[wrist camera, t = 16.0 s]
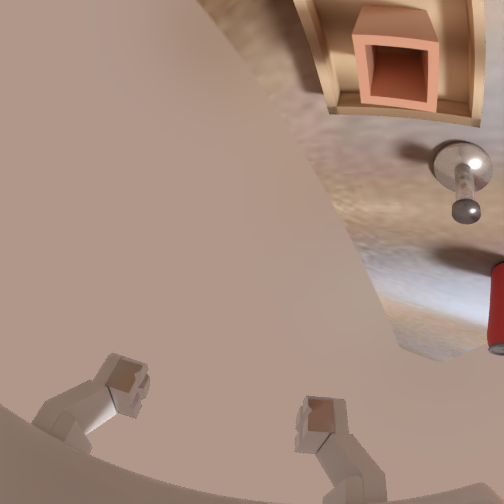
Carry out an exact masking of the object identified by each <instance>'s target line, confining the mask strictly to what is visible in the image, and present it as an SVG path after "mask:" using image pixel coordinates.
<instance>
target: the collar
mask: <svg viewBox="0 0 504 504" xmlns="http://www.w3.org/2000/svg"><path fill="white" fill-rule="evenodd" d="M352 39H353V45H354V51H355V58H356V65H357V72H358V80H359V88H360V97H361V103H365V104H376V105H385V106H394V107H402V108H409V109H416V110H422V111H429V112H434V113H436V109H437V96H438V78H439V41H438V38H437V35H436V33H435V30H434V27H433V25H432V22H431V20H430V17H429V15H428V13H427V10H420V9H411V8H402V7H389V6H370V5H362V8H361V11H360V14H359V16H358V19H357V22H356V24H355V27H354V30H353V32H352ZM377 45H381V46H393V47H403V48H412V49H420V50H421V56H414V55H406V54H397V53H386V52H377Z"/></svg>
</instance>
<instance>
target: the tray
mask: <svg viewBox="0 0 504 504" xmlns="http://www.w3.org/2000/svg"><path fill="white" fill-rule="evenodd" d="M293 1H294V4H295V7H296V9H297V12H298V15H299V17H300V20H301V23H302V26H303V29H304V32H305V35H306V37H307V40H308V43H309V47H310V50H311V53H312V56H313V59H314V62H315V66H316V69H317V72H318V76H319V79H320V82H321V86H322V89H323V93H324V97H325V100H326V104H327V108H328V112H329V114H343V115H373V116H390V117H403V118H414V119H423V120H432V121H440V122H447V123H454V124H461V125H467V126H473V127H478V128H480V122H481V114H482V105H483V94H484V80H485V18H484V4H483V0H293ZM362 5H370V6H389V7H402V8H411V9H420V10H427V13H428V15H429V17H430V20H431V22H432V25H433V27H434V30H435V33H436V35H437V38H438V41H439V78H438V96H437V109H436V113H434V112H429V111H422V110H416V109H409V108H402V107H394V106H385V105H376V104H365V103H361V97H360V88H359V80H358V72H357V65H356V58H355V51H354V45H353V39H352V32H353V30H354V27H355V24H356V22H357V19H358V16H359V14H360V11H361V8H362ZM377 52H386V53H397V54H406V55H414V56H421V50H420V49H412V48H403V47H393V46H381V45H377Z"/></svg>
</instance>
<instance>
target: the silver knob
mask: <svg viewBox="0 0 504 504" xmlns="http://www.w3.org/2000/svg"><path fill="white" fill-rule="evenodd" d="M434 173H435V176H436V178H437V180H438V181H439V182H440V183H441V184H442V185H443V186H444V187H446V188H447V189H449V190H452V191H455V192H456V202H455V203H454V204H453V205H452V217H453V218H454V220H455V221H457V222H459V223H461V224H472V223H475V222H477V221H478V220H479V218H480V216H481V212H480V206H479V204H478V203H477V202H476V198H475V191H478V190H480V189H482V188H483V187H485V186H486V185H487V184H488V183H489V181H490V179H491V177H492V164H491V160H490V158H489V156H488V155H487V153H486V152H485V151H484V150H483V149H482V148H480V147H479V146H477V145H475V144H472V143H469V142H454V143H450V144H448V145H446V146H444V147H443V148H441V149H440V150H439V151H438V153H437V154H436V156H435V159H434Z"/></svg>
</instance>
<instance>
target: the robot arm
mask: <svg viewBox="0 0 504 504" xmlns="http://www.w3.org/2000/svg"><path fill="white" fill-rule="evenodd" d="M147 371H148V366H147V364H145V363H142V362H139V361H136V360H133V359H130V358H127V357H124V356H121V355H118V354H115V353H111V354H110V355H108V357H107V359H106V360H105V362H104V363H103V365H102V367H101V368H100V370H99V371H98V373H97V375H96V376H95V378H94V380H93V381H92V380H88V381H86V382H84V383H82V384H80V385H78V386H76V387H74V388H72V389H70V390H68V391H66V392H64V393H62V394H59V395H57V396H55V397H53V398H51V399H49V400H47V401H45V403H44V404H43V406H42V407H41V409H40V410H39V412H38V414H37V415H36V417H35V418H34V420H33V421H32V423H31V424H30V423H29V422H27V421H25V420H24V419H22V418H21V417H19V416H17V415H16V414H14V413H13V412H11V411H10V410H8V409H7V408H5V407H4V406H3V405H1V404H0V504H282V503H270V502H261V501H253V500H246V499H239V498H233V497H227V496H221V495H216V494H211V493H206V492H201V491H197V490H193V489H188V488H185V487H181V486H177V485H173V484H170V483H166V482H163V481H159V480H156V479H152V478H150V477H146V476H143V475H140V474H137V473H135V472H132V471H129V470H126V469H123V468H121V467H118V466H116V465H113V464H111V463H108V462H106V461H103V460H101V459H99V458H96V457H94V456H92V455H89V454H90V451H91V449H92V445H91V444H90V442H89V440H88V439H87V437H86V434H88V433H89V432H91V431H92V430H94V429H95V428H97V427H98V426H99V425H101V424H103V423H104V422H106V421H107V420H108V419H110V418H111V417H113V416H114V415H116V414H117V413H120V414H123V415H126V416H129V417H133V418H137V416H138V413H139V411H140V409H141V407H142V405H141V401H140V400H142V399H144V398H145V397H146V395H147V393H148V390H149V386H150V378H149V376H148V375H147ZM296 429H297V431H298V434H297V436H296V438H295V452H299V453H310V454H316V457H317V458H318V460H319V462H320V464H321V465H322V467H323V469H324V470H325V472H326V474H327V475H328V477H329V479H330V480H331V482H332V484H333V485H334V487H335V488H334V489H333V490H331V491H330V492H329V493H328V494H326V495H325V496H324V497H323V504H504V499H503V498H502V497H501V496H500V495H498V494H497V493H496V492H495V491H494V490H493V489H492V488H491V487H489V486H488V485H486V484H485V483H477V484H472V485H469V486H466V487H462V488H458V489H455V490H451V491H446V492H442V493H437V494H432V495H427V496H422V497H416V498H411V499H404V500H397V501H389V502H387V491H386V481H385V474H384V472H383V471H382V470H381V469H380V467H379V466H378V465H377V464H376V463H375V462H374V460H373V459H372V458H371V457H370V455H369V454H368V453H367V452H366V450H365V449H364V448H363V447H362V446H361V444H360V443H359V442H358V441H357V439H356V438H355V437H354V436H353V434H349V431H348V420H347V410H346V401H345V400H344V399H334V398H327V397H315V396H306V397H305V398H304V401H303V406H302V407H300V409H299V411H298V415H297V420H296Z"/></svg>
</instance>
